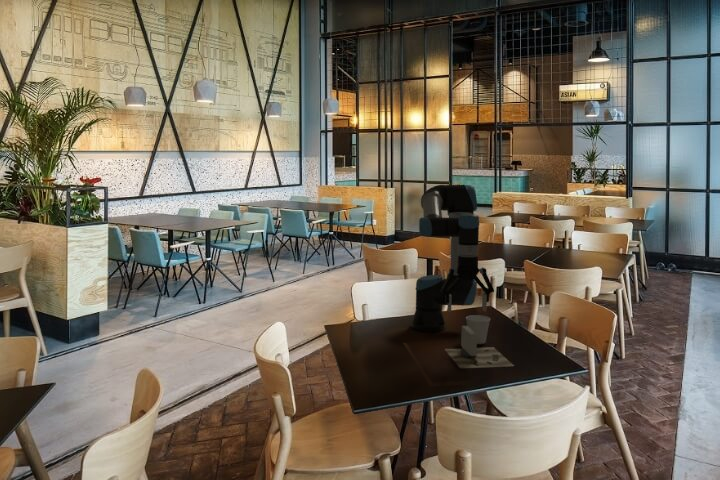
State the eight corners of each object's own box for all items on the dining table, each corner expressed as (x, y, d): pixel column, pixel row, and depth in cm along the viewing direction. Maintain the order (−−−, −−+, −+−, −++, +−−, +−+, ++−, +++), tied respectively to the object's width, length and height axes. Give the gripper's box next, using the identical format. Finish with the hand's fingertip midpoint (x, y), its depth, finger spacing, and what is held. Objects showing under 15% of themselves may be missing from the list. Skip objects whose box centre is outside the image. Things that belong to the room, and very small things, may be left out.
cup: (490, 348, 236) (490, 322, 234) (464, 347, 238) (465, 320, 236) (489, 341, 245) (490, 315, 244) (465, 340, 247) (465, 314, 246)
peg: (456, 351, 229) (456, 325, 228) (471, 350, 230) (471, 325, 228) (468, 364, 214) (468, 337, 213) (484, 363, 215) (484, 337, 213)
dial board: (444, 352, 232) (444, 348, 232) (493, 350, 234) (493, 346, 234) (460, 371, 210) (460, 367, 210) (514, 369, 212) (514, 365, 212)
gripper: (438, 257, 217) (437, 314, 219) (503, 256, 220) (502, 312, 222) (433, 254, 224) (432, 309, 227) (496, 253, 227) (495, 307, 230)
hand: (466, 311), depth 225 cm, fingers open, 13 cm apart
